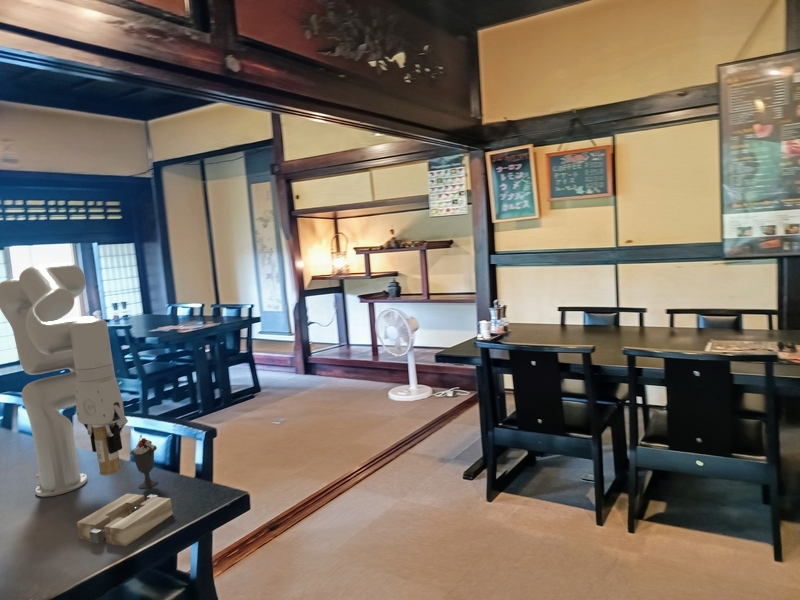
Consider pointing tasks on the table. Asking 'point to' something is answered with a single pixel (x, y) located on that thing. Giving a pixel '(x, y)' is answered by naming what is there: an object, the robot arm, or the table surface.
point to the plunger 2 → (140, 506)
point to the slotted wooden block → (126, 518)
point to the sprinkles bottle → (105, 452)
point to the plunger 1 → (97, 535)
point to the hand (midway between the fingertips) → (107, 449)
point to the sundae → (145, 461)
